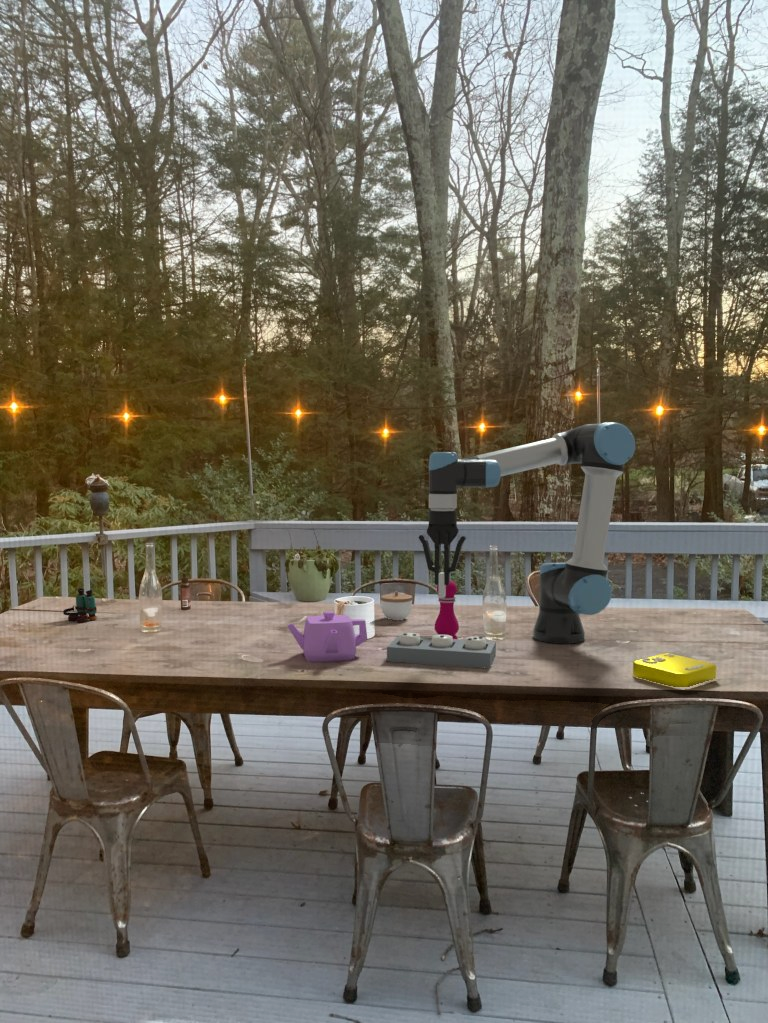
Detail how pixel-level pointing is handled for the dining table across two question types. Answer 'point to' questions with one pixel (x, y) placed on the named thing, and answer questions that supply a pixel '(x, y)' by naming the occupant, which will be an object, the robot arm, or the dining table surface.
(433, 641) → the button one dot
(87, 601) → the binoculars
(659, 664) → the element tile
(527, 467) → the robot arm
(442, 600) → the pepper mill
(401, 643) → the button two dots
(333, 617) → the teakettle
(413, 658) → the console
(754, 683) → the dining table surface
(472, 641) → the button three dots
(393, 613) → the lidded jar
